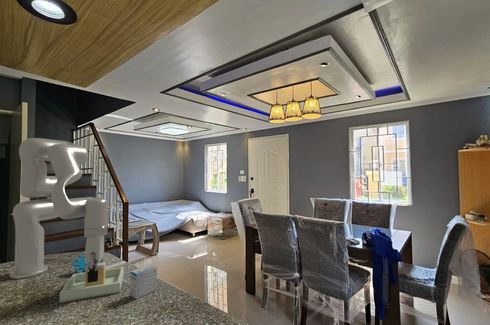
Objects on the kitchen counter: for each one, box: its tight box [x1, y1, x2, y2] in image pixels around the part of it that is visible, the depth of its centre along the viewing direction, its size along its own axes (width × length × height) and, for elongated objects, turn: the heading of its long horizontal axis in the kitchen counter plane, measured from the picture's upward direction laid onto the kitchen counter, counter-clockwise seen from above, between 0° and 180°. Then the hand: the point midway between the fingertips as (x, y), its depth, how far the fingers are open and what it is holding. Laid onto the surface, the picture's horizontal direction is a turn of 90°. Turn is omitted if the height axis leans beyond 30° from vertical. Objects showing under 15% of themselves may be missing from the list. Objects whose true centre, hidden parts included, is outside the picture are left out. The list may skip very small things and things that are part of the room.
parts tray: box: [59, 266, 125, 304], centre depth 91 cm, size 16×18×4 cm
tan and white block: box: [84, 261, 106, 287], centre depth 91 cm, size 4×6×8 cm, turn 112°
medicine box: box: [129, 264, 158, 300], centre depth 86 cm, size 8×4×9 cm, turn 145°
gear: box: [72, 253, 103, 274], centre depth 107 cm, size 11×6×10 cm
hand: (95, 276), depth 91 cm, fingers open, 9 cm apart
